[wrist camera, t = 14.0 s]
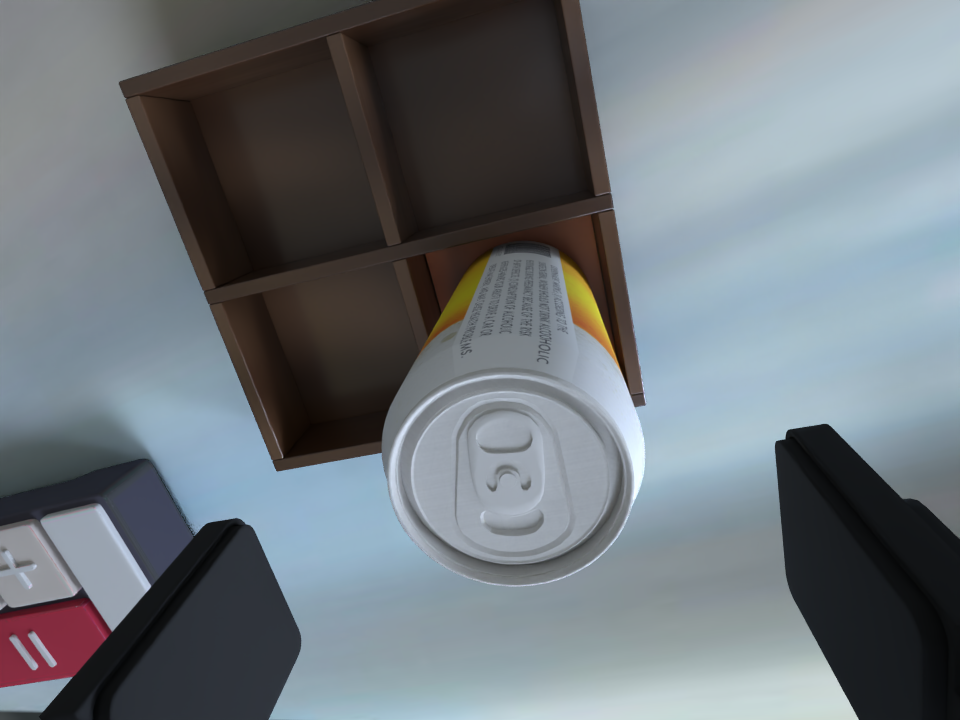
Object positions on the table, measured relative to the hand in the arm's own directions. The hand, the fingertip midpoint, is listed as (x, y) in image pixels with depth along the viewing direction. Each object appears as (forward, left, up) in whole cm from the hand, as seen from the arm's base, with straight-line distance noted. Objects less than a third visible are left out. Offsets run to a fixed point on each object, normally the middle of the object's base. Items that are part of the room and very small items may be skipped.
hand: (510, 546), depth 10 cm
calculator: (+10, -29, -19) cm, 36 cm away
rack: (-4, -4, -18) cm, 19 cm away
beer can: (0, 0, -18) cm, 18 cm away
